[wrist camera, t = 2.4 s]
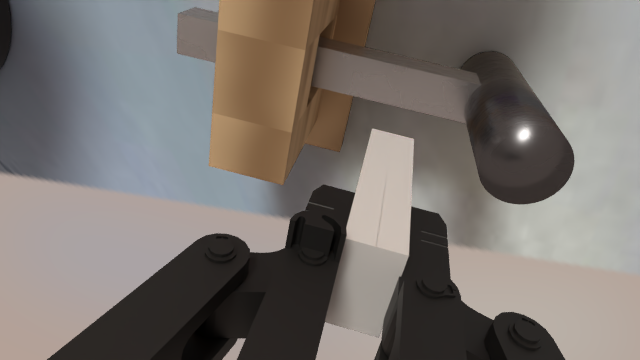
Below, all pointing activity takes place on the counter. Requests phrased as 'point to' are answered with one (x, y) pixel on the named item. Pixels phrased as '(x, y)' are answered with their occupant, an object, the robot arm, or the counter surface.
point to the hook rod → (439, 104)
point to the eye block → (278, 82)
